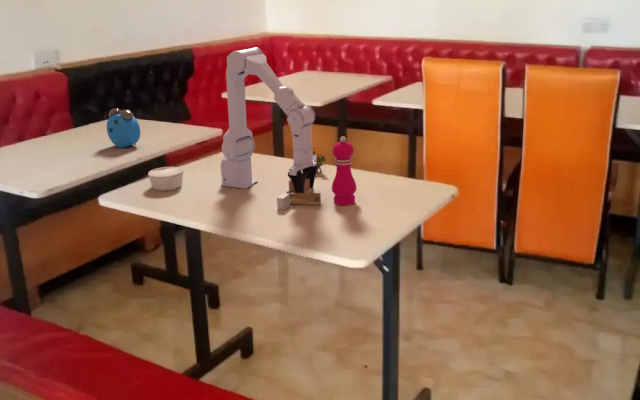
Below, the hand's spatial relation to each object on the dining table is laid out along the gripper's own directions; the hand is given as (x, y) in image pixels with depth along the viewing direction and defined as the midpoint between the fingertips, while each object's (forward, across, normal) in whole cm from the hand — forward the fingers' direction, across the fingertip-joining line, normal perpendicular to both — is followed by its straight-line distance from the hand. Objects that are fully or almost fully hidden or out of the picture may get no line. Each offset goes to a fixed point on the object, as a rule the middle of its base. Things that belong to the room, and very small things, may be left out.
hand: (304, 191), depth 202 cm
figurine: (+3, +26, +10) cm, 28 cm away
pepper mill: (+3, +2, -12) cm, 13 cm away
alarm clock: (+3, +30, +95) cm, 100 cm away
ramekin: (+3, -4, +48) cm, 48 cm away
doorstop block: (+2, 0, +2) cm, 3 cm away
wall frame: (+2, 0, +3) cm, 4 cm away
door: (+2, -4, -2) cm, 6 cm away
